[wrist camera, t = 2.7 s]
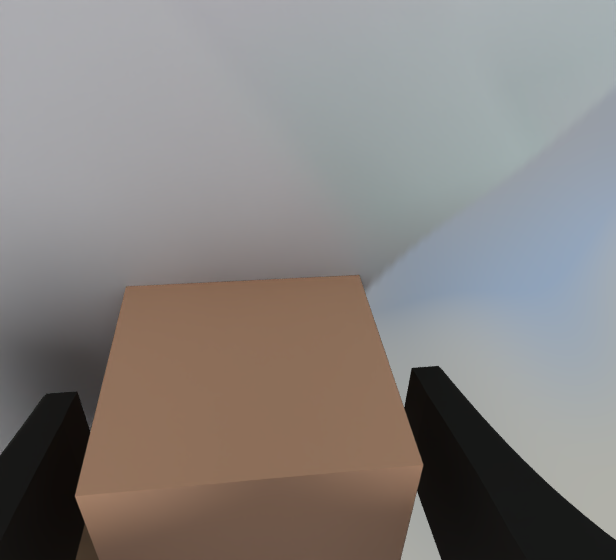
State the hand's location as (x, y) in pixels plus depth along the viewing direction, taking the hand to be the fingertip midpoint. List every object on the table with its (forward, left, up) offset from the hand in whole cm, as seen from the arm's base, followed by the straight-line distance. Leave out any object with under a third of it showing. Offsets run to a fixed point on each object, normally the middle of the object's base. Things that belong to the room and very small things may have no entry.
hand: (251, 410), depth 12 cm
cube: (0, 0, -2) cm, 2 cm away
